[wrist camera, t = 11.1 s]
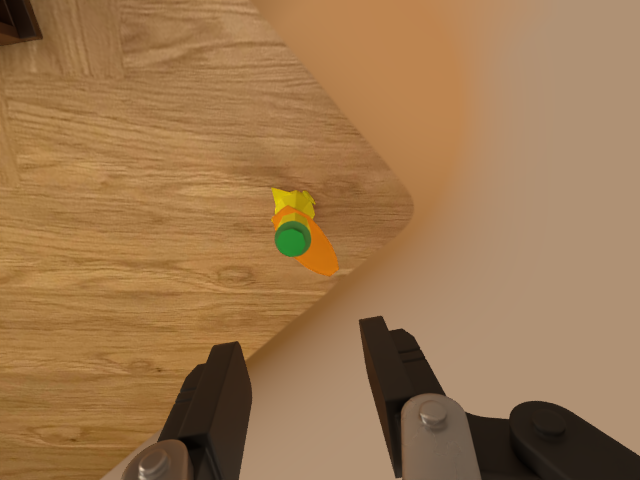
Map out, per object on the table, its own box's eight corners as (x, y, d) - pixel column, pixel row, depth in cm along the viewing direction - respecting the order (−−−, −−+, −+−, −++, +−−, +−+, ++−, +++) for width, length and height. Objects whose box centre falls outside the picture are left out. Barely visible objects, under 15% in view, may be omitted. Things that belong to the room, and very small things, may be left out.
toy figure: (340, 224, 32) (363, 278, 21) (310, 249, 33) (316, 315, 21) (290, 165, 30) (284, 189, 19) (259, 193, 31) (235, 232, 19)
